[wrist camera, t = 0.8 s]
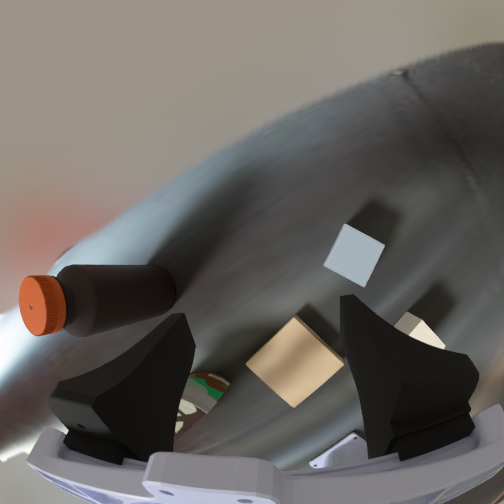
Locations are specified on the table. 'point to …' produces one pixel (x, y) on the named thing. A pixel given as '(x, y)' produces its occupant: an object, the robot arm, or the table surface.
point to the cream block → (418, 330)
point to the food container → (199, 398)
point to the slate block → (354, 255)
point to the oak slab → (295, 362)
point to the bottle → (94, 298)
